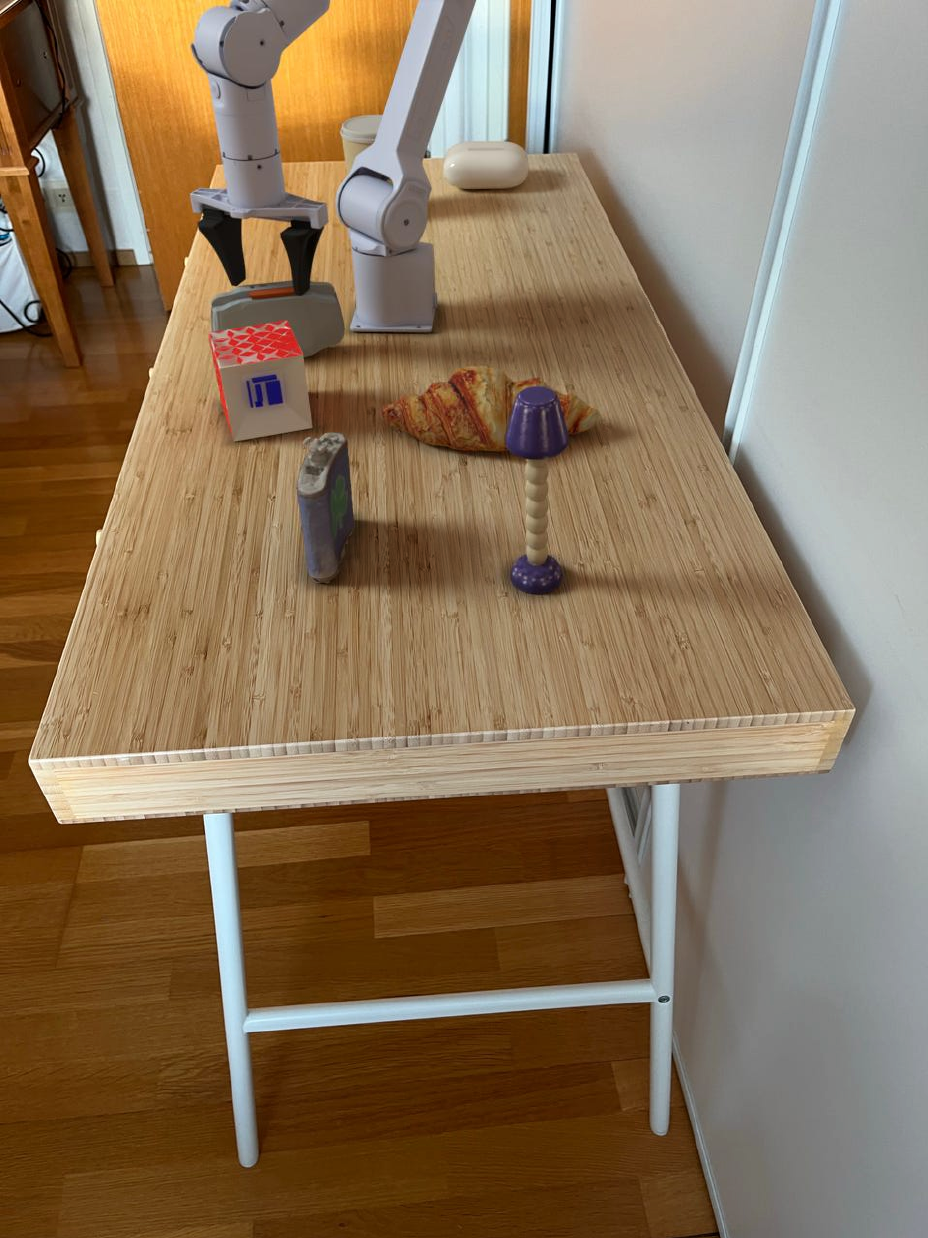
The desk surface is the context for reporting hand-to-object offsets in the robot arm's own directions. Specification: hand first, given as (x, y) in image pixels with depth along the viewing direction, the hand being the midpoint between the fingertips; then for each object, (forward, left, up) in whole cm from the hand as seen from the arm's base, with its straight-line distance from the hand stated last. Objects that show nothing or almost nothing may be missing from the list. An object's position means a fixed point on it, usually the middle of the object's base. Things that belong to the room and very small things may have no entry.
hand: (270, 287), depth 105 cm
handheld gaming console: (0, 0, -8) cm, 8 cm away
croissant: (-24, +16, -8) cm, 30 cm away
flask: (-11, +35, -8) cm, 38 cm away
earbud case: (-21, -58, -8) cm, 62 cm away
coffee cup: (-6, -45, -8) cm, 46 cm away
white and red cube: (-1, +13, -8) cm, 15 cm away
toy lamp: (-28, +38, -8) cm, 48 cm away
